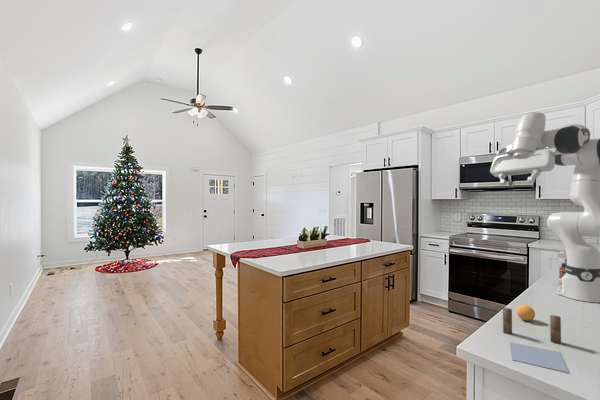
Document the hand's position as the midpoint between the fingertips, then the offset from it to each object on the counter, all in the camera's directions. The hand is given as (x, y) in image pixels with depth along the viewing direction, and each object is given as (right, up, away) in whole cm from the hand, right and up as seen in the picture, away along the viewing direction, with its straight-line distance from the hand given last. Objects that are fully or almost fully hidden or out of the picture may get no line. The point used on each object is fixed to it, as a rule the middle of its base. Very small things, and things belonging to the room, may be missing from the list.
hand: (516, 183), depth 107 cm
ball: (+6, -48, +3) cm, 49 cm away
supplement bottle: (+60, -51, +46) cm, 91 cm away
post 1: (-8, -51, -8) cm, 52 cm away
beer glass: (+70, -50, +56) cm, 103 cm away
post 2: (+2, -51, -14) cm, 53 cm away
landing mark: (-11, -51, -23) cm, 57 cm away
